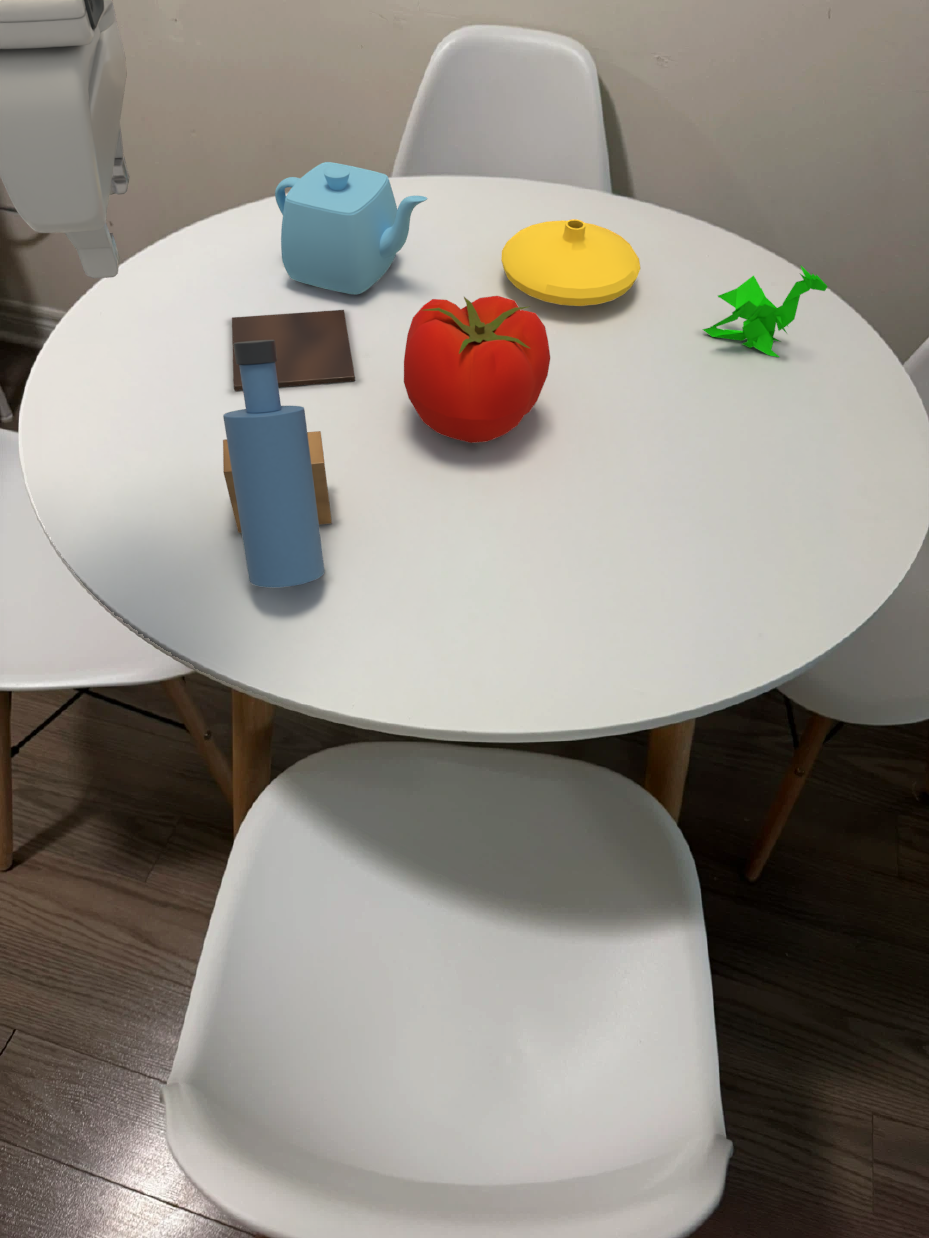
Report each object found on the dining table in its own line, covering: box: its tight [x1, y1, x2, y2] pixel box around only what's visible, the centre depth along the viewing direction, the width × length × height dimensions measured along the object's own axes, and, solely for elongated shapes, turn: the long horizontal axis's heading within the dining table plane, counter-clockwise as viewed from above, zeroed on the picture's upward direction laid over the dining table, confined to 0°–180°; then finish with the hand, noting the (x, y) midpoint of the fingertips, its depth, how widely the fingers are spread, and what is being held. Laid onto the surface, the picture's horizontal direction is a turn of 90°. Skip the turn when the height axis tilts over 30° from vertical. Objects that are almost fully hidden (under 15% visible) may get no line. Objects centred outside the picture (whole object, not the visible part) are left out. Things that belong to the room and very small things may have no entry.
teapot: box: [274, 161, 428, 296], centre depth 97 cm, size 12×18×12 cm
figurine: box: [702, 264, 829, 358], centre depth 92 cm, size 6×12×9 cm, turn 73°
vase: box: [500, 218, 641, 307], centre depth 99 cm, size 16×16×7 cm
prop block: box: [222, 430, 332, 534], centre depth 74 cm, size 8×4×7 cm, turn 100°
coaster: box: [231, 309, 356, 392], centre depth 91 cm, size 12×12×1 cm
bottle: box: [222, 340, 326, 589], centre depth 67 cm, size 6×13×18 cm, turn 10°
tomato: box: [403, 295, 551, 444], centre depth 81 cm, size 13×14×12 cm
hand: (110, 228), depth 51 cm, fingers open, 8 cm apart
